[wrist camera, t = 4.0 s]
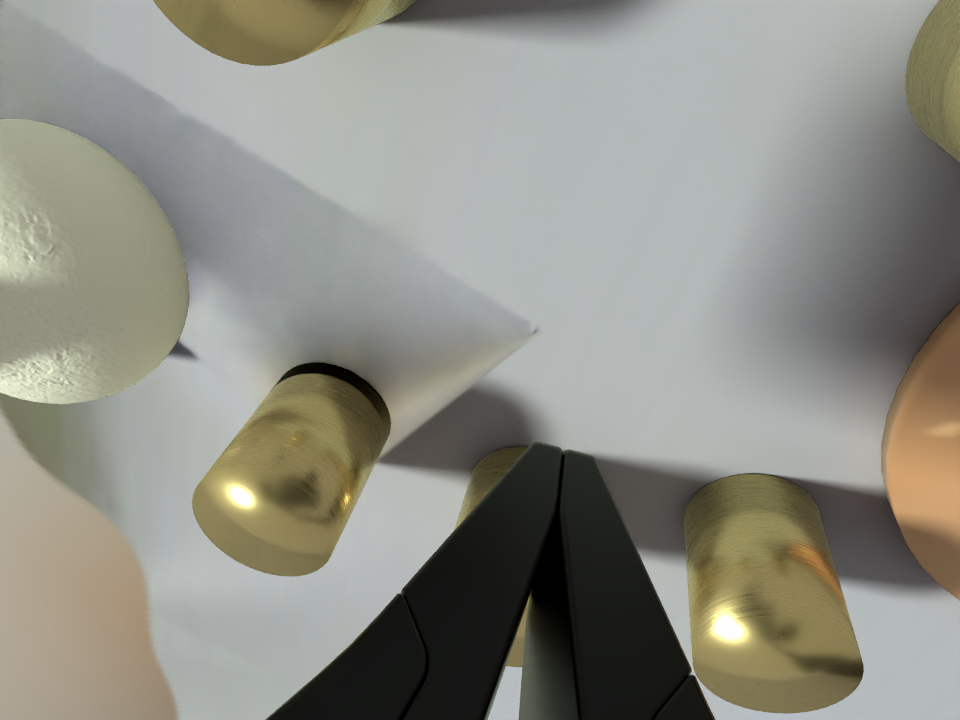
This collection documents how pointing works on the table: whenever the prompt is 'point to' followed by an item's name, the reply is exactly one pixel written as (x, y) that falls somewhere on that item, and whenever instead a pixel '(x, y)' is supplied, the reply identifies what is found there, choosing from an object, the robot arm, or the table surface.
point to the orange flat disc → (928, 455)
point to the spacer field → (366, 426)
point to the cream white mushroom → (81, 269)
